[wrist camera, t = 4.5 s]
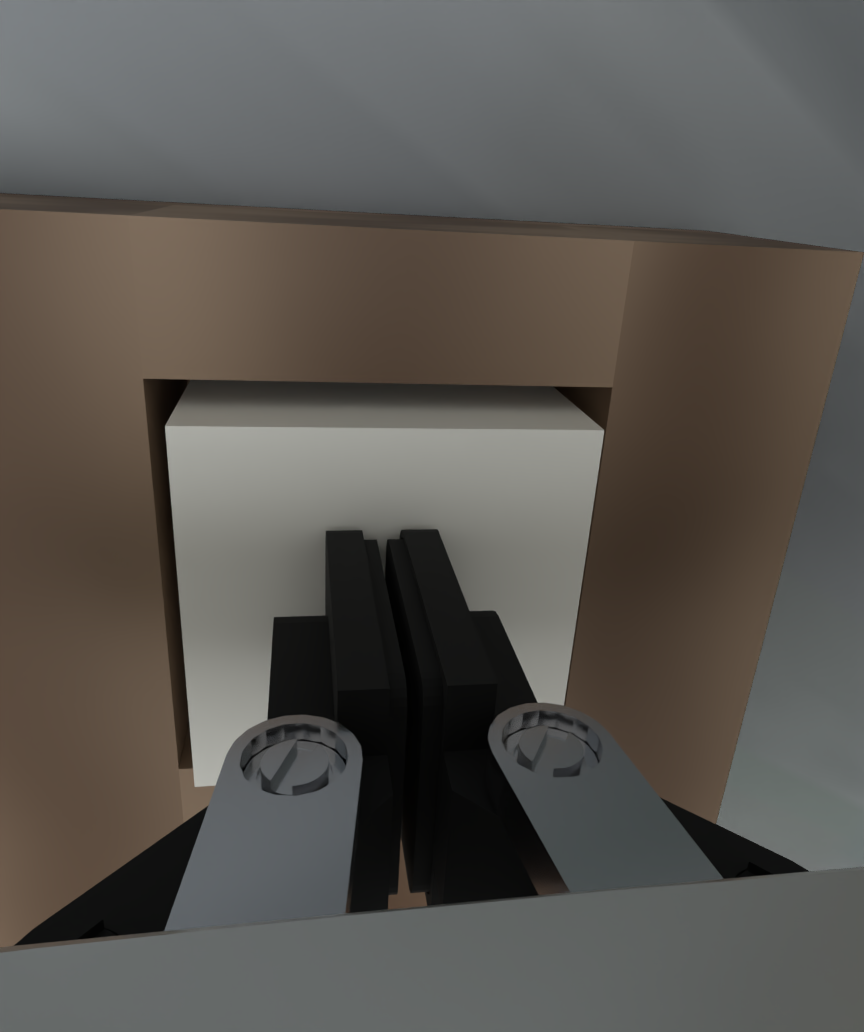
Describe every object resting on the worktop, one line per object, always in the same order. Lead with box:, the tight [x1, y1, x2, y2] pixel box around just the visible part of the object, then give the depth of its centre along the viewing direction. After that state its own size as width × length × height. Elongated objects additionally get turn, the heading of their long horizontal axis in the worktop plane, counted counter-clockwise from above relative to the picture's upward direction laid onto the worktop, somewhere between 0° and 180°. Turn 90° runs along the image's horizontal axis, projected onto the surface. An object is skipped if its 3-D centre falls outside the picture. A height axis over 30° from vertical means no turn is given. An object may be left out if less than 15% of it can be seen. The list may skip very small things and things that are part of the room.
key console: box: [0, 193, 864, 947], centre depth 17 cm, size 14×22×5 cm, turn 177°
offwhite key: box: [165, 380, 604, 787], centre depth 13 cm, size 6×6×4 cm
